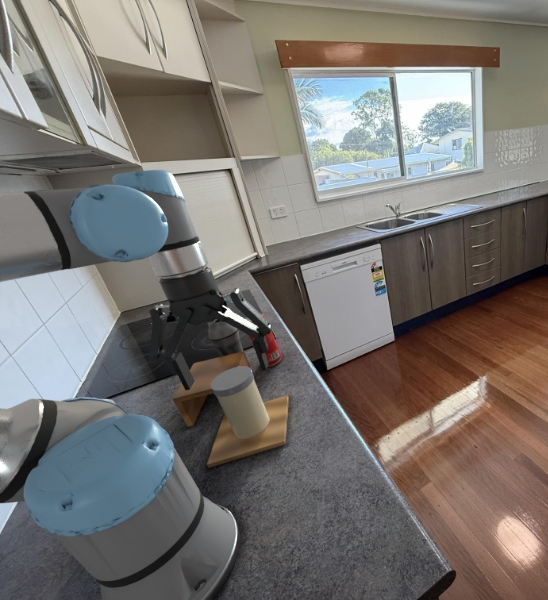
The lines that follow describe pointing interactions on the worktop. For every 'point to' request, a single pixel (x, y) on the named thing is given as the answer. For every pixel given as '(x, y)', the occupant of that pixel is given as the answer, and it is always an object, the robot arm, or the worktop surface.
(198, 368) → the shelf
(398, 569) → the worktop surface
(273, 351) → the beverage can
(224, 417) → the board
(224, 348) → the grey bottle
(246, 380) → the jar
